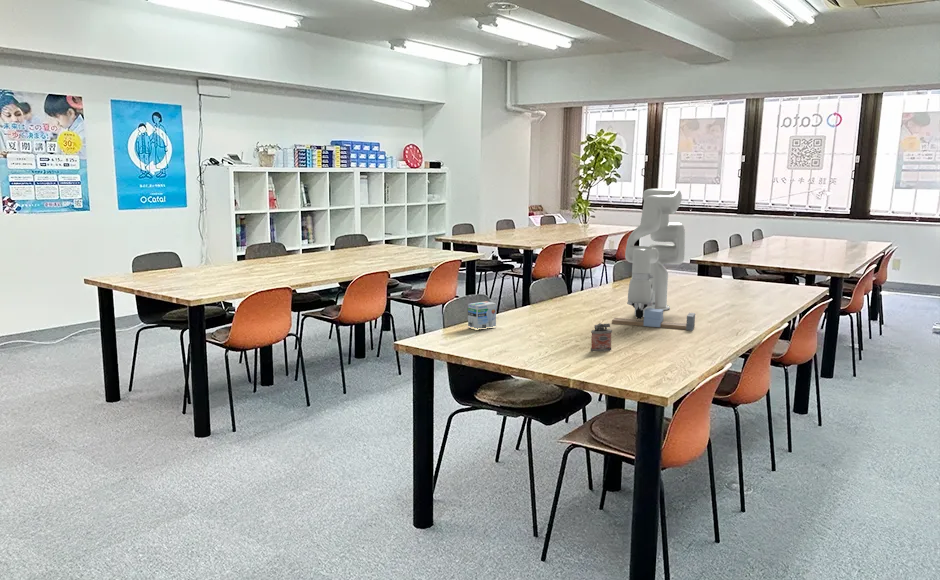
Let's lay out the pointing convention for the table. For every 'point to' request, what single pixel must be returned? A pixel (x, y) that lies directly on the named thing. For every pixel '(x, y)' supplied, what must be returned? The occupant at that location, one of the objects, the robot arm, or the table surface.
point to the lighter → (601, 338)
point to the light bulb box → (482, 314)
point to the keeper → (653, 317)
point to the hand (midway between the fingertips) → (639, 318)
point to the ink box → (647, 303)
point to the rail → (673, 325)
